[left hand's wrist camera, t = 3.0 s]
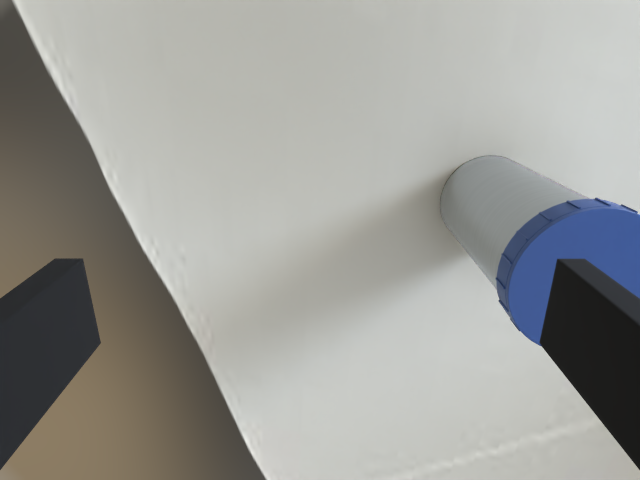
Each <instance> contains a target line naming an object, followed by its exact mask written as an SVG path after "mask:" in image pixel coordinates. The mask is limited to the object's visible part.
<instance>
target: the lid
mask: <svg viewBox="0 0 640 480" xmlns="http://www.w3.org/2000/svg"><path fill="white" fill-rule="evenodd" d="M637 213H638V212H637V211H635V210H633V209H631V208H628V207H626V206H624V205H622V204H621V206H620V205H618V204H616V203H613V202H609V201H606V200H600V199H598V198H595V199H579V200H572V201H569V200H567V202H564V203H561V204H558V205H555V206H552V207H550V208H548V209H546V210H544V211H542V212H539V214H537V215H536V216H534V217H533V218H532V219H530V220H529V221H528V222H527V223H525V224H524V225H523V226H522V227H521V228H520V229H519V230H517V231H516V233H515V235H514V236H513V237H512V238H511V240H510V241H509V243H508V245H507V246H506V248H505V250H504V252H503V254H501V255H502V256H501V259H500V262H499V265H498V270H497V278H495V279H496V285H497V293H498V296H499V302H500V304H501V305H502V306H503V308H504V310H505V311H506V313H507V314H508V315H509V317H510V320H511V321H512V322H513V324H514V325H515V326H516V328H517V329H518V330H519V331H521V332H522V333H523V334H524V335H525V336H526V337H527V338H529V339H530V340H531V341H533V342H534V343H536V344H538V345H540V343H539V342H540V337H541V333H542V328H543V323H544V318H545V314H546V309H547V304H548V300H549V295H550V290H551V285H552V281H553V276H554V271H555V267H556V262H557V259H586V260H587V261H589V262H590V263H592V264H593V265H594V266H596V267H597V268H598V269H600V270H601V271H603V272H604V273H605V274H607V275H608V276H609V277H611V278H612V279H614V280H615V281H616V282H618V283H619V284H620V285H622V286H623V287H625V288H626V289H627V290H629V291H630V292H631V293H633V294H634V295H636V296H637V297H638V298H640V215H639V214H637ZM540 346H541V345H540Z"/></svg>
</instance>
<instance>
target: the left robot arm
mask: <svg viewBox="0 0 640 480" xmlns="http://www.w3.org/2000/svg"><path fill="white" fill-rule="evenodd" d="M100 343H101V342H100V338H99V333H98V328H97V323H96V318H95V314H94V309H93V304H92V300H91V295H90V290H89V285H88V281H87V276H86V272H85V267H84V262H83V259H54V260H53V261H51V262H50V263H48V264H47V265H46V266H44V267H43V268H42V269H40V270H39V271H37V272H36V273H35V274H33V275H32V276H31V277H29V278H28V279H26V280H25V281H24V282H22V283H21V284H20V285H18V286H17V287H15V288H14V289H13V290H11V291H10V292H9V293H7V294H6V295H5V296H3V297H2V298H0V470H1V468H2V467H3V466H4V465H5V463H6V462H7V461H8V460H9V458H10V457H11V456H12V454H13V453H14V452H15V451H16V449H17V448H18V447H19V446H20V444H21V443H22V442H23V441H24V439H25V438H26V437H27V436H28V434H29V433H30V432H31V430H32V429H33V428H34V427H35V425H36V424H37V423H38V422H39V420H40V419H41V418H42V417H43V415H44V414H45V413H46V412H47V410H48V409H49V408H50V406H51V405H52V404H53V403H54V401H55V400H56V399H57V398H58V396H59V395H60V394H61V393H62V391H63V390H64V389H65V388H66V386H67V385H68V384H69V382H70V381H71V380H72V379H73V377H74V376H75V375H76V374H77V372H78V371H79V370H80V369H81V367H82V366H83V365H84V363H85V362H86V361H87V360H88V358H89V357H90V356H91V355H92V353H93V352H94V351H95V350H96V348H97V347H98V346H99V345H100ZM539 343H540V345H541V346H542V347H543V348H544V350H545V351H546V352H547V353H548V355H549V356H550V357H551V358H552V360H553V361H554V362H555V364H556V365H557V366H558V367H559V369H560V370H561V371H562V372H563V374H564V375H565V376H566V377H567V379H568V380H569V381H570V382H571V384H572V385H573V386H574V388H575V389H576V390H577V391H578V393H579V394H580V395H581V396H582V398H583V399H584V400H585V401H586V403H587V404H588V405H589V406H590V408H591V409H592V410H593V412H594V413H595V414H596V415H597V417H598V418H599V419H600V420H601V422H602V423H603V424H604V425H605V427H606V428H607V429H608V430H609V432H610V433H611V434H612V436H613V437H614V438H615V439H616V441H617V442H618V443H619V444H620V446H621V447H622V448H623V449H624V451H625V452H626V453H627V454H628V456H629V457H630V458H631V460H632V461H633V462H634V463H635V465H636V466H637V467H638V468H639V470H640V298H638V297H637V296H636V295H634V294H633V293H631V292H630V291H629V290H627V289H626V288H625V287H623V286H622V285H620V284H619V283H618V282H616V281H615V280H614V279H612V278H611V277H609V276H608V275H607V274H605V273H604V272H603V271H601V270H600V269H598V268H597V267H596V266H594V265H593V264H592V263H590V262H589V261H587V260H586V259H557V262H556V267H555V271H554V276H553V281H552V285H551V290H550V295H549V300H548V304H547V309H546V314H545V318H544V323H543V328H542V333H541V337H540V342H539Z"/></svg>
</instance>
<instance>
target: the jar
mask: <svg viewBox="0 0 640 480" xmlns="http://www.w3.org/2000/svg"><path fill="white" fill-rule="evenodd" d="M579 199H589V198H587V197H585V196H583V195H581V194H579V193H577V192H575V191H573V190H571V189H569V188H567V187H565V186H563V185H561V184H559V183H557V182H555V181H553V180H551V179H549V178H547V177H545V176H543V175H541V174H538V173H536V172H534V171H532V170H530V169H528V168H526V167H524V166H522V165H520V164H518V163H516V162H514V161H512V160H510V159H508V158H505V157H501V156H482V157H478V158H475V159H473V160H470V161H468V162H466V163H465V164H463V165H462V166H460V167H459V168H458V169H457V170H456V171H455V172H454V173H453V174H452V175H451V176H450V178H449V179H448V180H447V182H446V184H445V186H444V188H443V191H442V194H441V200H440V210H441V215H442V218H443V221H444V223H445V224H446V226H447V227H448V229H449V230H450V231H451V233H452V234H453V235H454V236H455V238H456V239H457V240H458V241H459V243H460V244H461V245H462V247H463V248H464V249H465V250H466V252H467V253H468V254H469V255H470V257H471V258H472V259H473V260H474V262H475V263H476V264H477V266H478V267H479V268H480V269H481V271H482V272H483V273H484V274H485V276H486V277H487V278H488V279H489V281H490V282H491V283H492V285H493V286H494V287H495V288H496V290H497V285H496V279H495V278H497V270H498V265H499V262H500V259H501V256H502V255H501V254H503V252H504V250H505V248H506V246H507V245H508V243H509V241H510V240H511V238H512V237H513V236H514V235H515V233H516V231H517V230H519V229H520V228H521V227H522V226H523V225H524V224H525V223H527V222H528V221H529V220H530V219H532V218H533V217H534V216H536V215H537V214H539V212H542V211H544V210H546V209H548V208H550V207H552V206H555V205H558V204H561V203H564V202H567V200H569V201H572V200H579Z"/></svg>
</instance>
